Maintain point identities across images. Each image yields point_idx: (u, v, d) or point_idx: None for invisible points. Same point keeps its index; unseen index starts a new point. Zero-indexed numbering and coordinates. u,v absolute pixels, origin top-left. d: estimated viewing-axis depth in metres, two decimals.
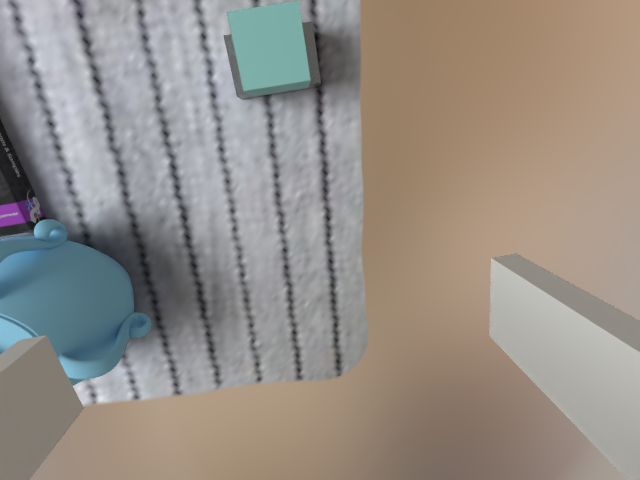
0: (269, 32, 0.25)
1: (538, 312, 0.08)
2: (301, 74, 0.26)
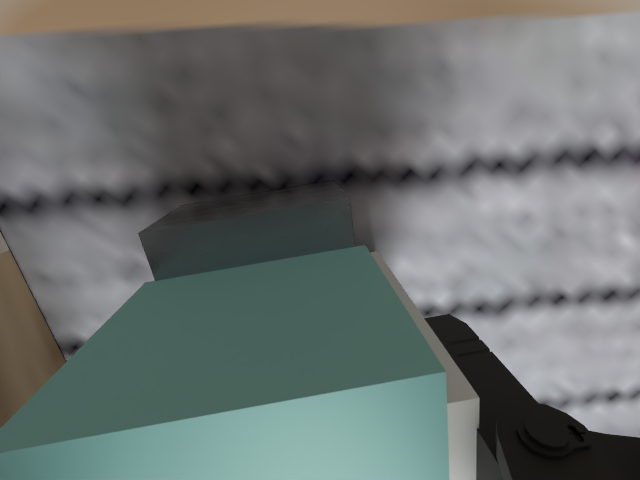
0: None
1: None
2: (404, 422, 0.04)
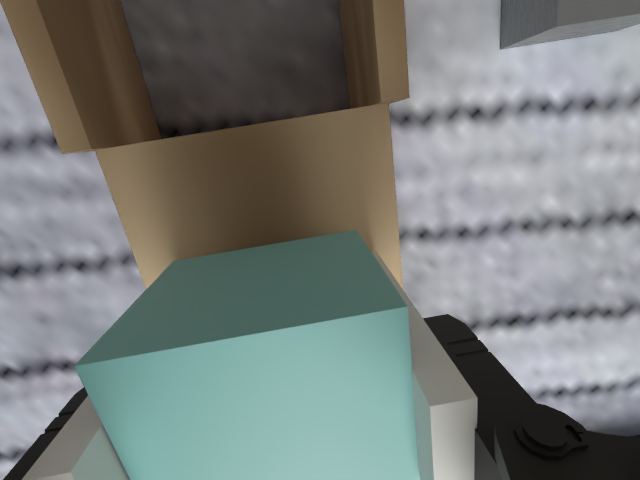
0: (224, 461, 0.06)
1: None
2: (379, 346, 0.06)
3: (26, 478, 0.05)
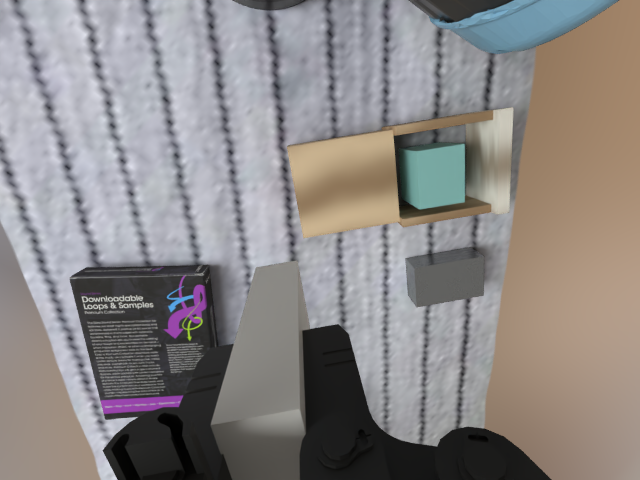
0: None
1: None
2: None
3: (215, 422, 0.05)
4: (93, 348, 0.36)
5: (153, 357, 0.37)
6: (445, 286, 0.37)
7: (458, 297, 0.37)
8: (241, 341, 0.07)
